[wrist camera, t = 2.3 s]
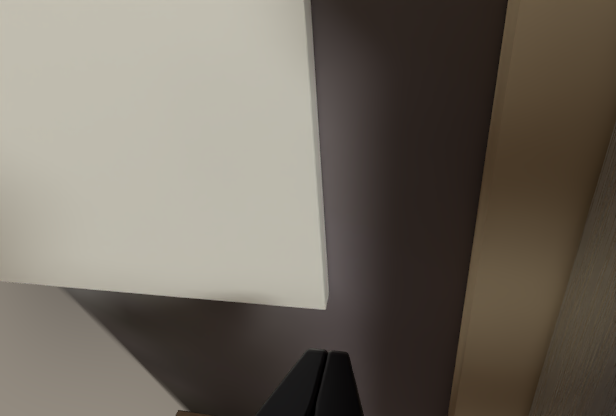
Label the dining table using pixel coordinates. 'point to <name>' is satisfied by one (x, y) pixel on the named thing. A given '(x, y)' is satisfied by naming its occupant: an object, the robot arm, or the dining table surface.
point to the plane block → (534, 195)
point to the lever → (586, 317)
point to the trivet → (162, 149)
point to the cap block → (189, 413)
